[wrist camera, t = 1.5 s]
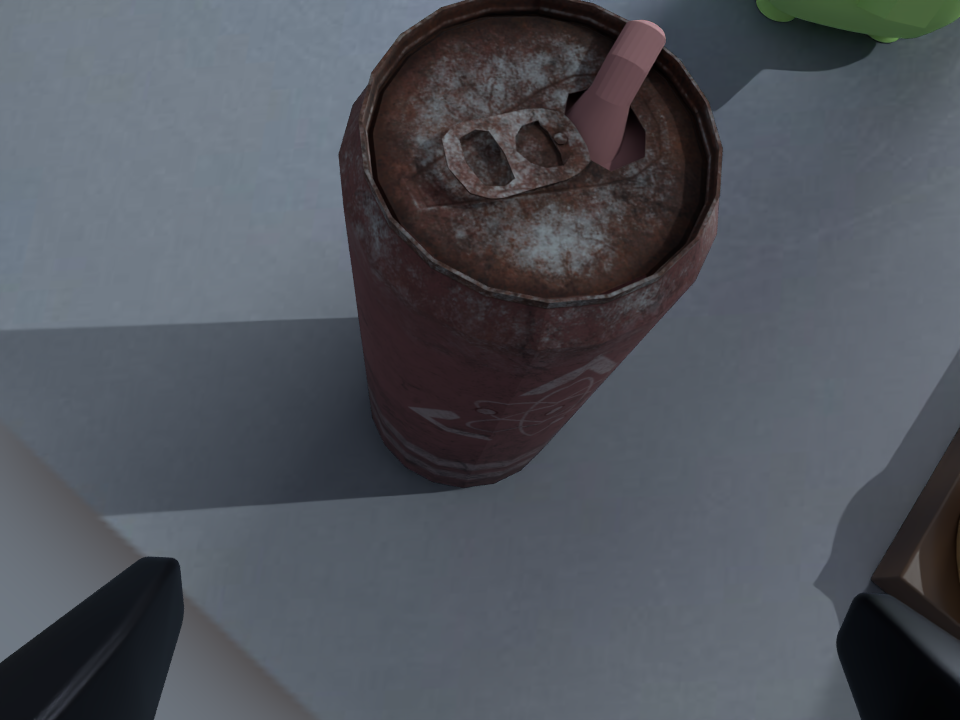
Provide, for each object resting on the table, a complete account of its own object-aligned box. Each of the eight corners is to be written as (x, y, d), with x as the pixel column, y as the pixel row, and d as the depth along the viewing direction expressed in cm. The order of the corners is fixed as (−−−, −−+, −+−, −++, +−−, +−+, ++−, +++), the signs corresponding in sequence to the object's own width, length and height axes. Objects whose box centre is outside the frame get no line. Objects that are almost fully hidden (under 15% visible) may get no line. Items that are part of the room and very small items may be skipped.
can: (586, 360, 24) (809, 70, 11) (500, 525, 22) (650, 404, 9) (433, 277, 25) (474, -98, 12) (334, 429, 23) (246, 181, 9)
